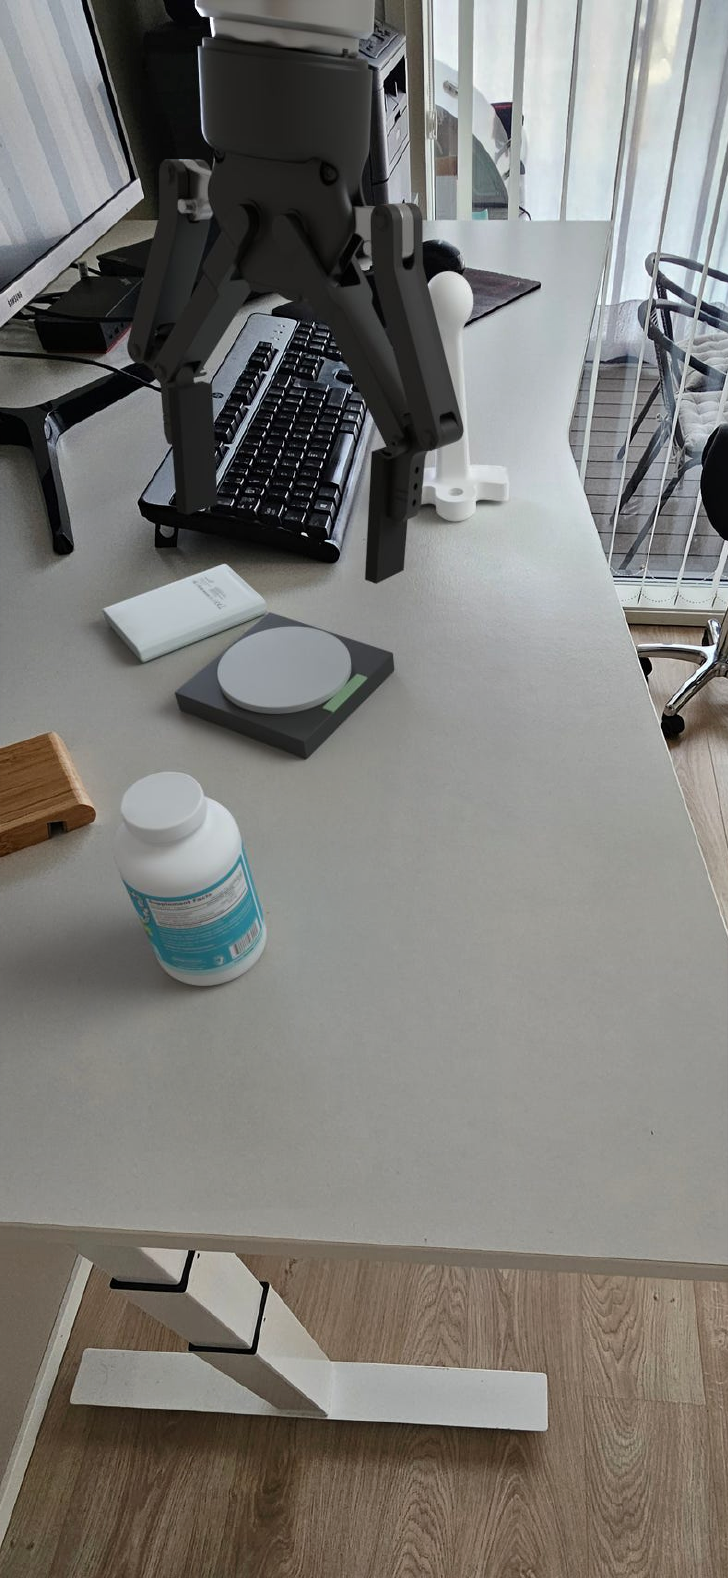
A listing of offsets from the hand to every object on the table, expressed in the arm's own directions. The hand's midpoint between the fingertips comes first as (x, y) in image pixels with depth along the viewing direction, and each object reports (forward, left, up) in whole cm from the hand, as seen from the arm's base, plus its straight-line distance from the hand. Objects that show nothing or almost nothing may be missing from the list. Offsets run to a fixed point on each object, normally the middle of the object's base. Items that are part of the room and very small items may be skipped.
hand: (287, 541), depth 57 cm
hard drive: (-26, +15, -22) cm, 37 cm away
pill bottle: (0, -15, -22) cm, 26 cm away
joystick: (-15, +43, -22) cm, 51 cm away
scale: (-12, +10, -21) cm, 27 cm away
